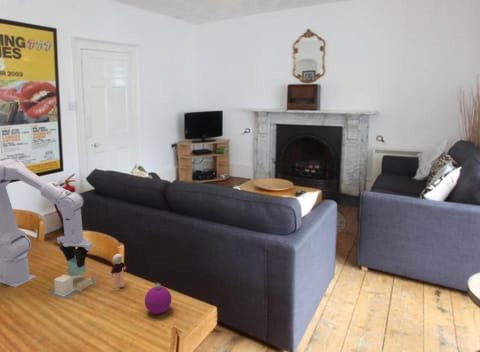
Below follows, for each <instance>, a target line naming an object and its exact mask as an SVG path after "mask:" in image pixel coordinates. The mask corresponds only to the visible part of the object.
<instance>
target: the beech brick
mask: <svg viewBox="0 0 480 352" xmlns="http://www.w3.org/2000/svg"><path fill="white" fill-rule="evenodd" d="M71 276H72V278H73V287H74V288H77V289H80V290H81V289H83V288H84V287H86V286H88V285H89V284H91V283H92V280H91V279H92V278H91V277H88V278H86V277H87V276H84V275H81V276H73V275H71ZM83 276H84V277H83ZM90 278H91V279H90ZM91 285H92V284H91ZM88 287H89V286H88ZM86 288H87V287H86ZM83 290H84V289H83ZM81 291H82V290H81Z"/></svg>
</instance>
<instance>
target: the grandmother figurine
mask: <svg viewBox="0 0 480 352" xmlns="http://www.w3.org/2000/svg"><path fill="white" fill-rule="evenodd" d="M123 257H124V256H123V255H122V254H120V253H116V254H114V256H112V261H113V262H114V264H113V266H112V268H111V271H110V275H109V277H108V278H109V279H111V280H112V279H113V288H112V289H113V291H114V292H117V291H120V290H121V288H124V287H125V286H126V284H125V278H124V273H123V270H126V269H127V267H126V264H125V263H124V262H123Z"/></svg>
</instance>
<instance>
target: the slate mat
mask: <svg viewBox="0 0 480 352" xmlns="http://www.w3.org/2000/svg"><path fill="white" fill-rule="evenodd" d="M79 276H83V277H86V278H90V279H91V280H92V283H91V284H89V285H88V286H86V287H84V288H83V289H81V290H80V289H77V288H74V287H73V289H74V290H73V291H71V292H69V293H68V294H66V295H64V296H63V295H60V294H57V293H55V288H53V289H52V290H50V291H47V294H49V295H51V296H53V297H57V298H59V299H63V300H68V299H70V298H71V297H73V296H75V295H76V294H78V293H79V292H81V291H83V290H84V289H86V288H88V287H89V286H91V285H94V283H96V282H98V281H99V280H98V279H95V278H91V277H87V276H84V275H82V274H81V275H79Z"/></svg>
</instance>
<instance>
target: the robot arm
mask: <svg viewBox="0 0 480 352" xmlns="http://www.w3.org/2000/svg"><path fill="white" fill-rule="evenodd" d="M13 180H14V181H15V180H19V181H20V182H24V183H25V184H27V185H28V186H31V187H32V188H35V189H36V190H39V191H40V195H41V196H42V197H43V198H45V199H46V200H48V201H50V202H51V203H53V204H54V205H56V206H57V208H58V211H60V212H61V217H62V221H63V222H62V223H63V224H62V225H63V231H64V236H63V235H61V236H59V237H56V242H57V244H62V245H61V246H59V250H60V251H61V252H62V254H63V255H64V257H65V260H66V262H67V261H68V260H70V259H72V258H74V257H76V260H77V265H78V267H79V268H80V267H82V266H84V263H85V264H86V257H87V255H88V253H89V251H90V250H92V249H93V243H92V242H90V241H88V240H86V239H84V232H83V222H82V221H83V220H82V208H81V207H83V205H84V198H83V196H82V194H81V193H79V192H76V191H73V192H72V191H70V189H69V190H67V189H65V188H63V187H62V186H60V185H59V183H58V182H56V181H46V180H44V179H43V178H41V177H40V176H39V175H37V174H36V173H34V172H33V171H32V170H30V169H29V168H27V167H26V166H25V164H24V163H23V162H21V161H19V159H17V158H14V157H10V158H8V159H7V158H6V159H3V160H0V283H1V284H5V285H8V286H10V287H13V288H17V287H19V286H21V285H23V284H26V283H27V282H29V281H31V280H33V279H35V278H36V276H35V275H32V274H30V267H29V266H30V265H29V259H28V254H29V250H30V249H31V246H32V242H31V240H30V239H29V238H28V236H27V234H26V232H25V231H24V230H22V229H20V228H19V225H18V223H17V219H16V215H15V213H14V209H13V206H12V203H11V200H10V196H9V193H8V189H7V186H8V185H9V183H10V182H11V181H13ZM76 247H77V248H76Z"/></svg>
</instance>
